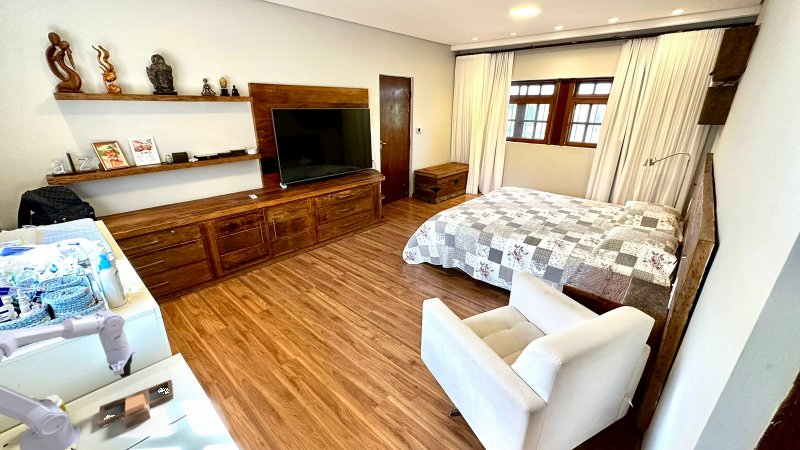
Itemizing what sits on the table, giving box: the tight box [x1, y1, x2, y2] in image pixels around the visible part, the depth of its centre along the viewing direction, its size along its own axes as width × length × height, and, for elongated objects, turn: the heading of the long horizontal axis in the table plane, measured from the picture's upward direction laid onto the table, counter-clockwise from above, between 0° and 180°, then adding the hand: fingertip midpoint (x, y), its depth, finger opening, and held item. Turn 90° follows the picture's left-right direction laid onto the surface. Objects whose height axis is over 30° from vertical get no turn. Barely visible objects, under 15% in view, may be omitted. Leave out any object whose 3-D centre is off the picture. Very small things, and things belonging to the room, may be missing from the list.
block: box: [125, 394, 146, 416], centre depth 100 cm, size 4×4×4 cm
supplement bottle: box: [43, 394, 69, 414], centre depth 96 cm, size 5×5×8 cm
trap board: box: [97, 379, 174, 428], centre depth 102 cm, size 19×11×4 cm, turn 127°
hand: (126, 375), depth 104 cm, fingers closed
